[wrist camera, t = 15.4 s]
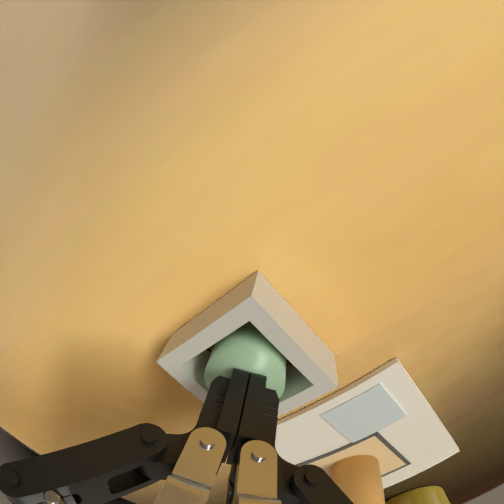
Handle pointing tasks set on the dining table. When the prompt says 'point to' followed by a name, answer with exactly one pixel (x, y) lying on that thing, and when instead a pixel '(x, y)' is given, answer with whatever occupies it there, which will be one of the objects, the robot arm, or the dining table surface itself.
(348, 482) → the shaker
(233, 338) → the button
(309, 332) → the button housing
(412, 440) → the sheet
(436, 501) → the plant pot
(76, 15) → the dining table surface
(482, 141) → the dining table surface
